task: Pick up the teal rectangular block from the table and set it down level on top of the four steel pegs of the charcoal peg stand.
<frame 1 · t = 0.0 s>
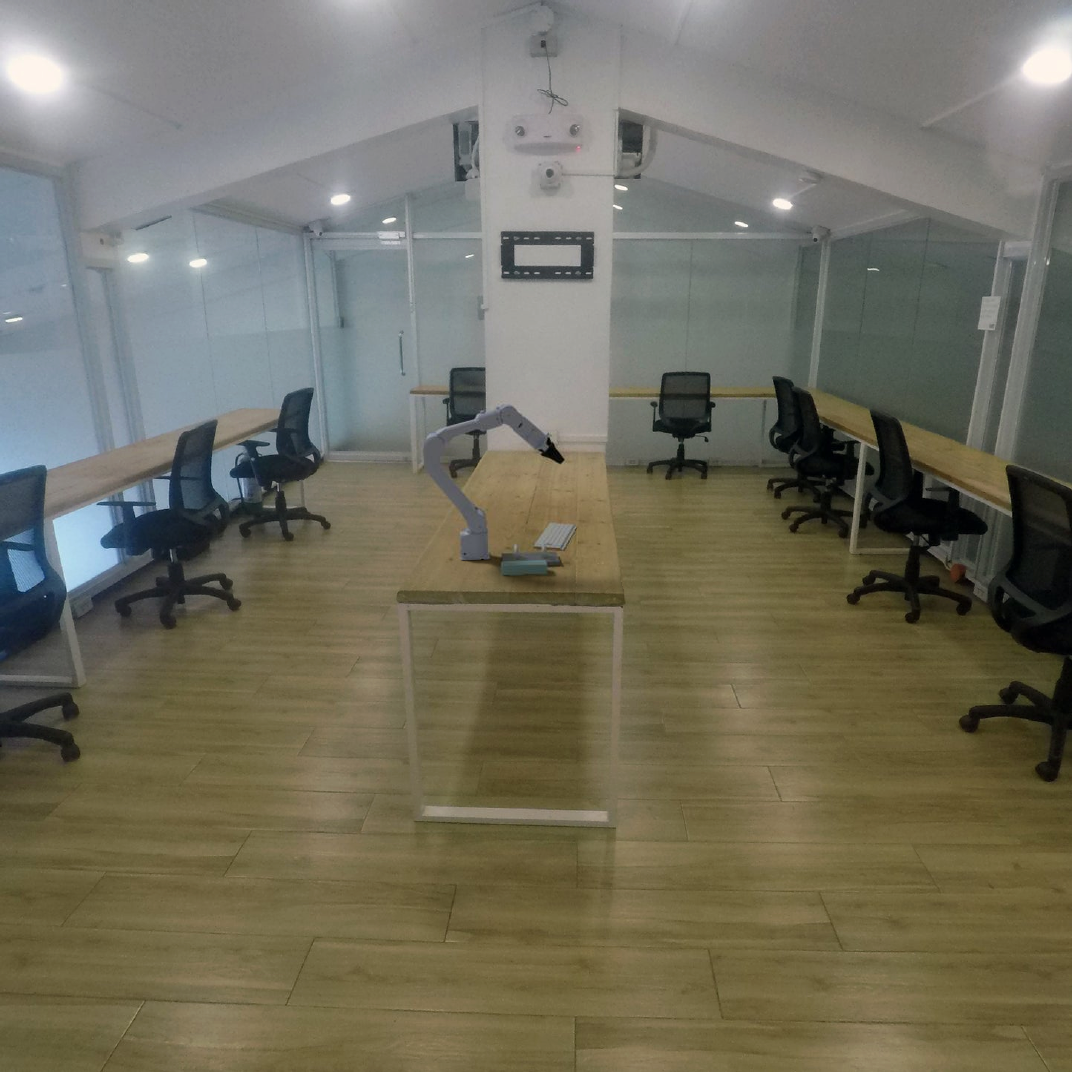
hand: (561, 459, 244), 32 cm above the table, tool tilted 50°, fingers open, 7 cm apart
peg stand: (530, 561, 246), on the table
white ridged flat slab: (558, 539, 273), on the table
teal rectangular block: (524, 573, 235), on the table
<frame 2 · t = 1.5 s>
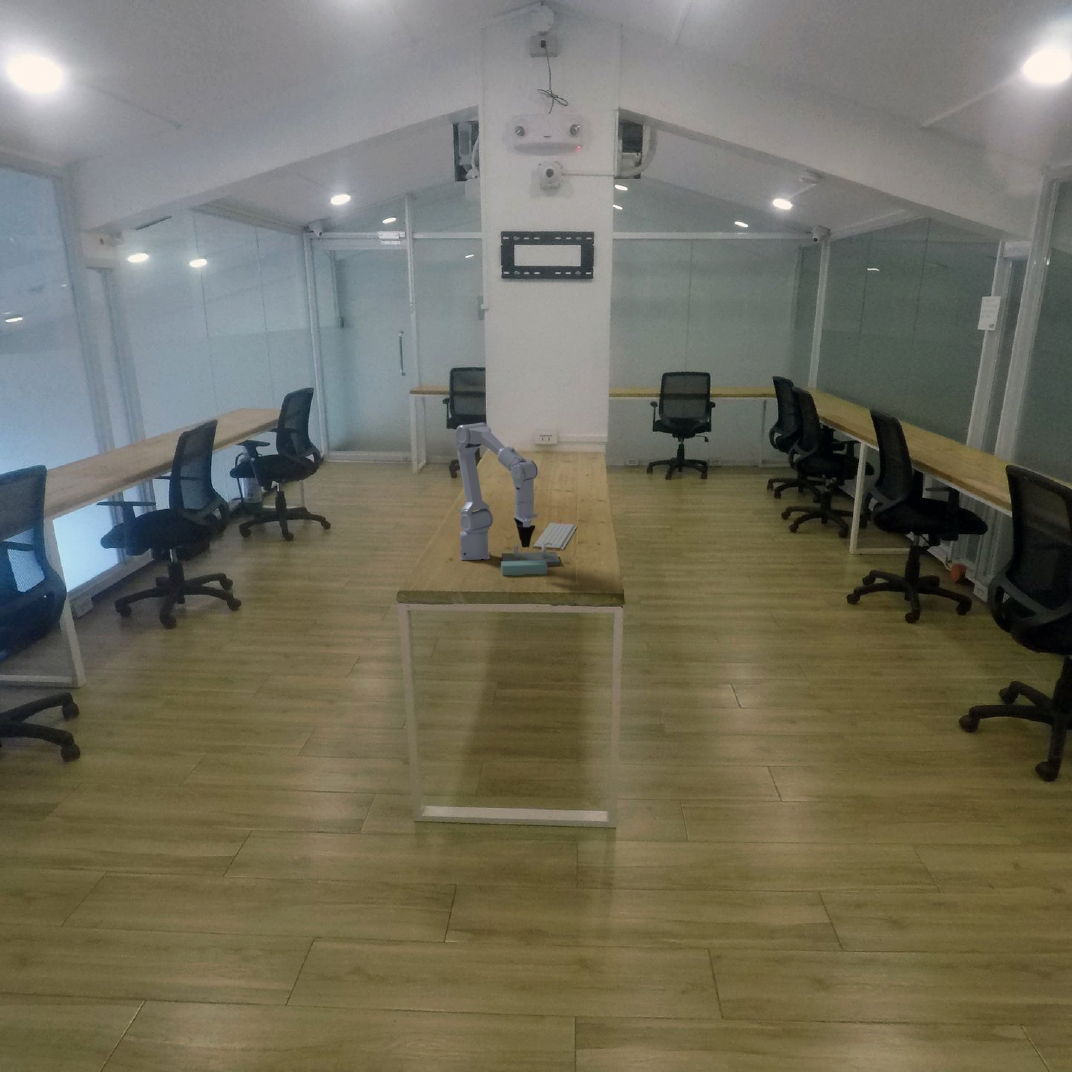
hand: (524, 543, 233), 9 cm above the table, tool pointing down, fingers open, 7 cm apart
nothing on the table moved.
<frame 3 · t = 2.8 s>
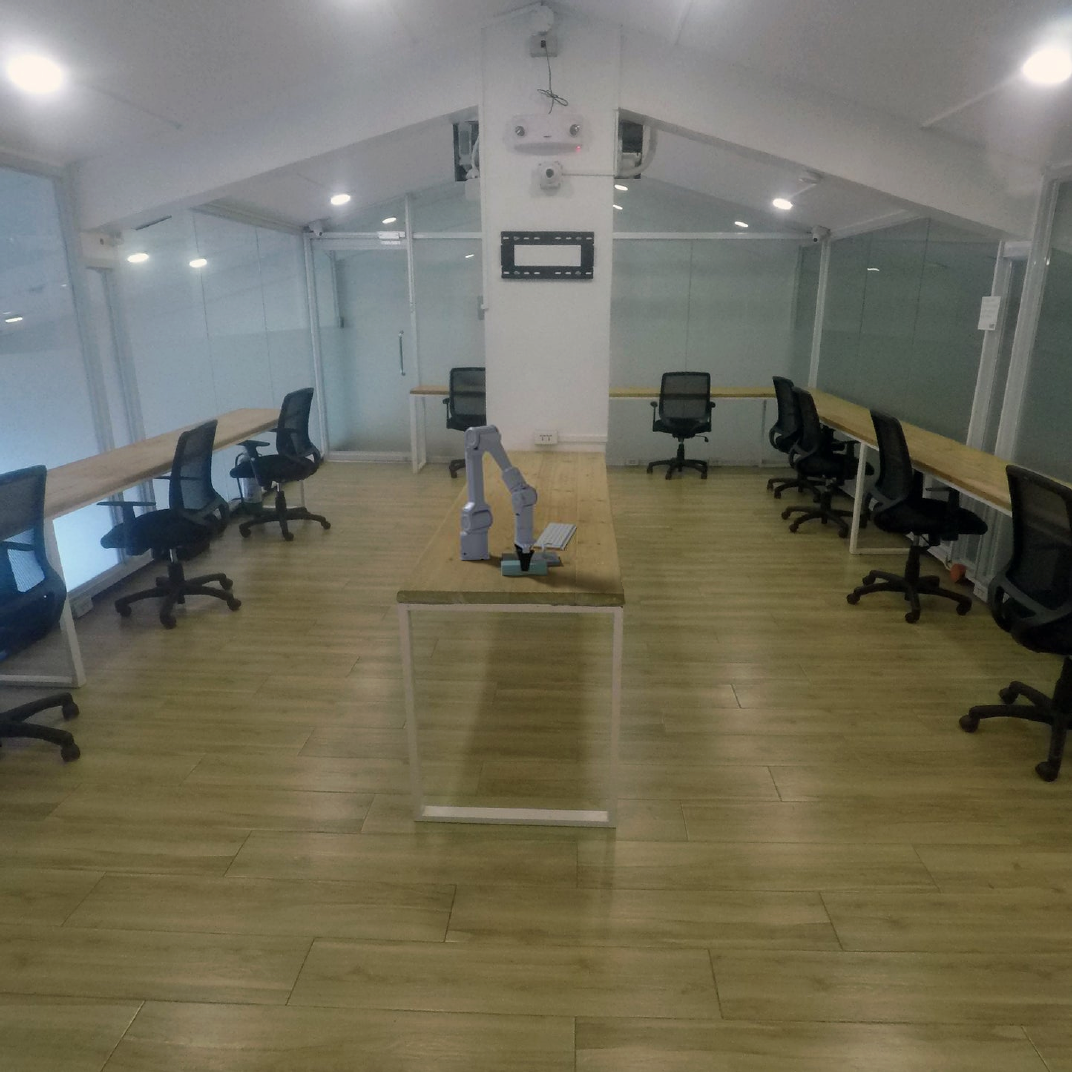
hand: (524, 568, 235), 1 cm above the table, tool pointing down, fingers closed on teal rectangular block, 4 cm apart
teal rectangular block: (523, 573, 235), on the table, touching gripper
everything else where it was.
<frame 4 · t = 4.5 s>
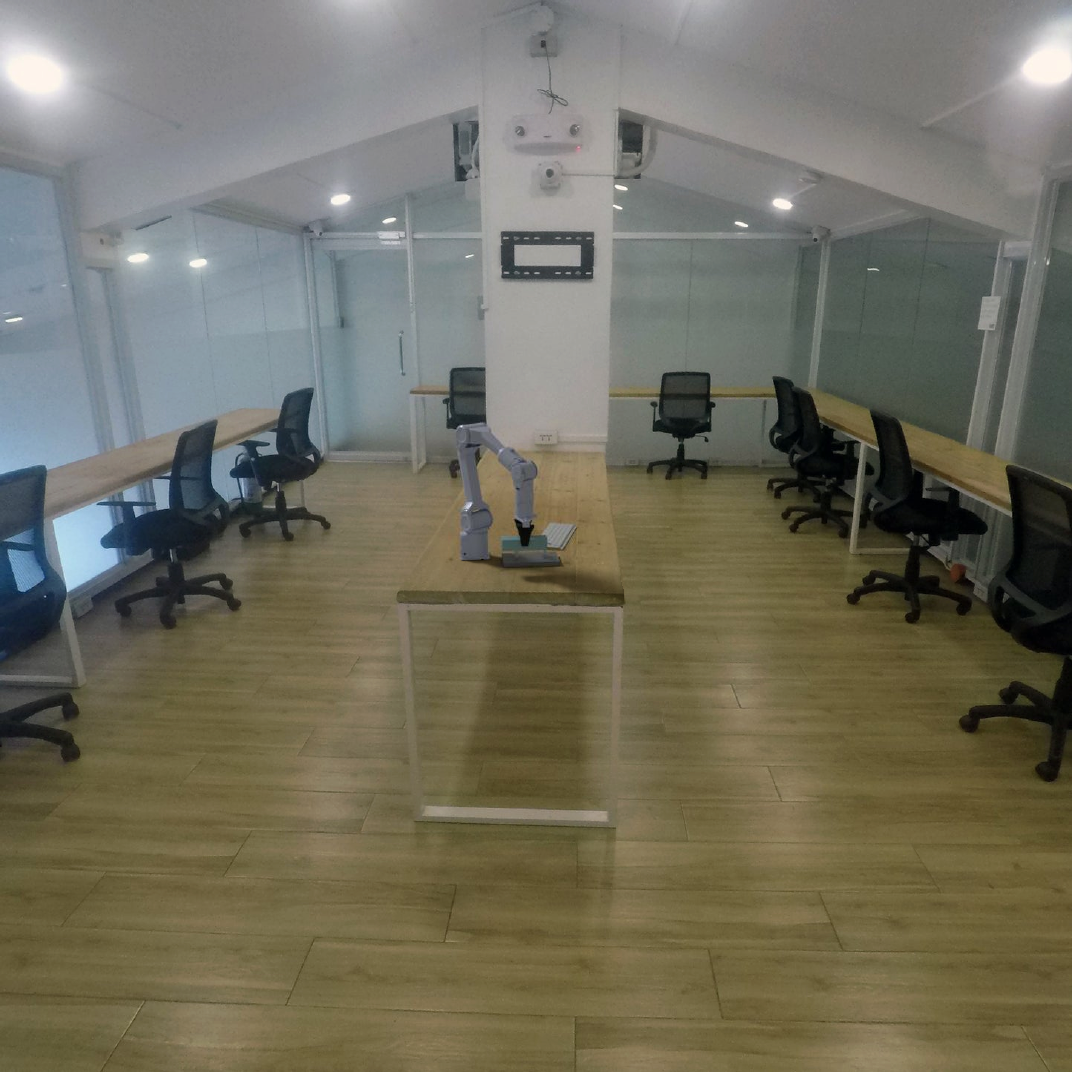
hand: (524, 543, 233), 9 cm above the table, tool pointing down, fingers closed on teal rectangular block, 4 cm apart
teal rectangular block: (524, 548, 233), point 8 cm above the table, touching gripper
everything else where it was.
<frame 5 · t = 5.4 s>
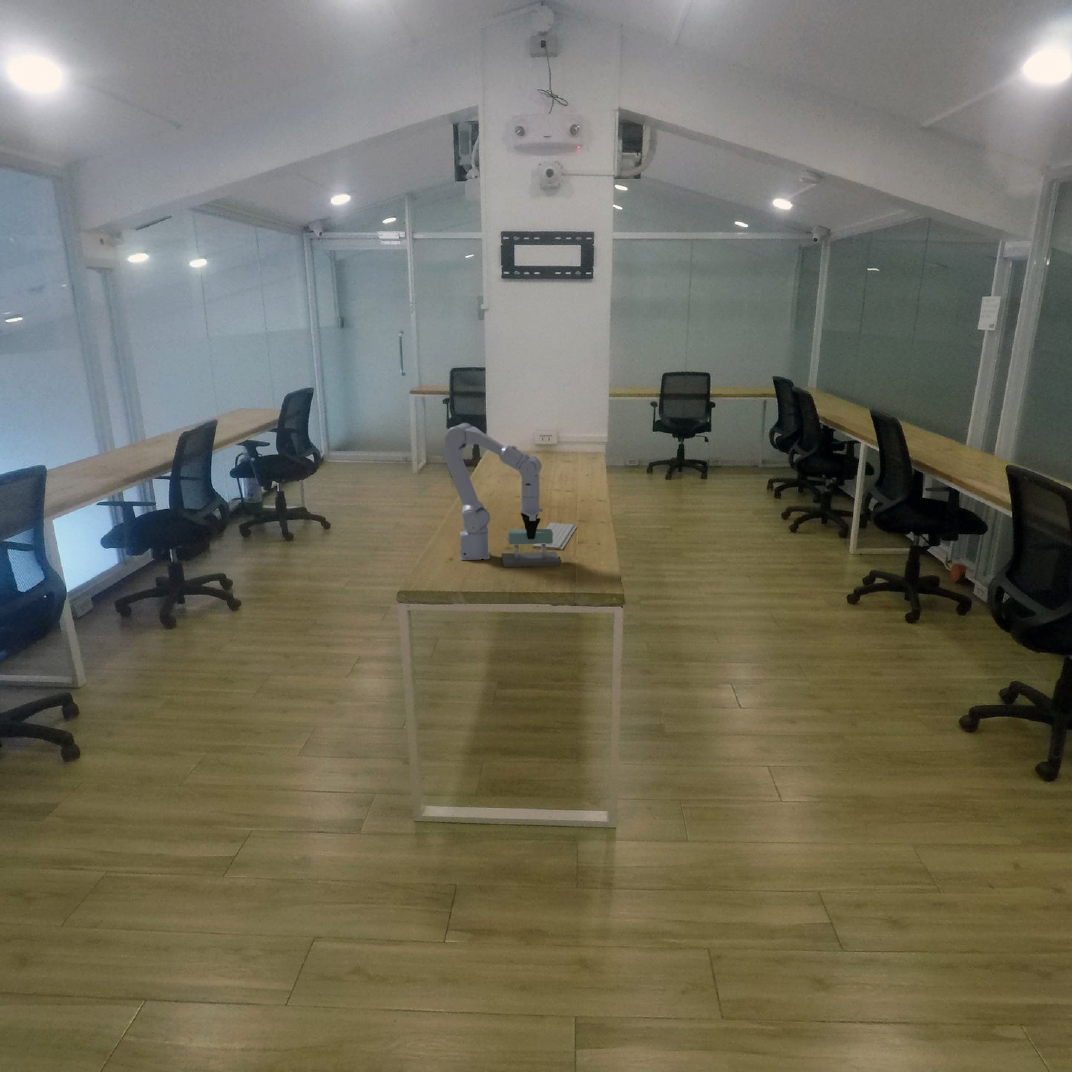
hand: (530, 536, 243), 9 cm above the table, tool pointing down, fingers closed on teal rectangular block, 4 cm apart
teal rectangular block: (530, 541, 244), point 7 cm above the table, touching gripper
everything else where it was.
when the fingers open (8 cm above the table, at t = 6.0 s): teal rectangular block stays where it is, resting on peg stand.
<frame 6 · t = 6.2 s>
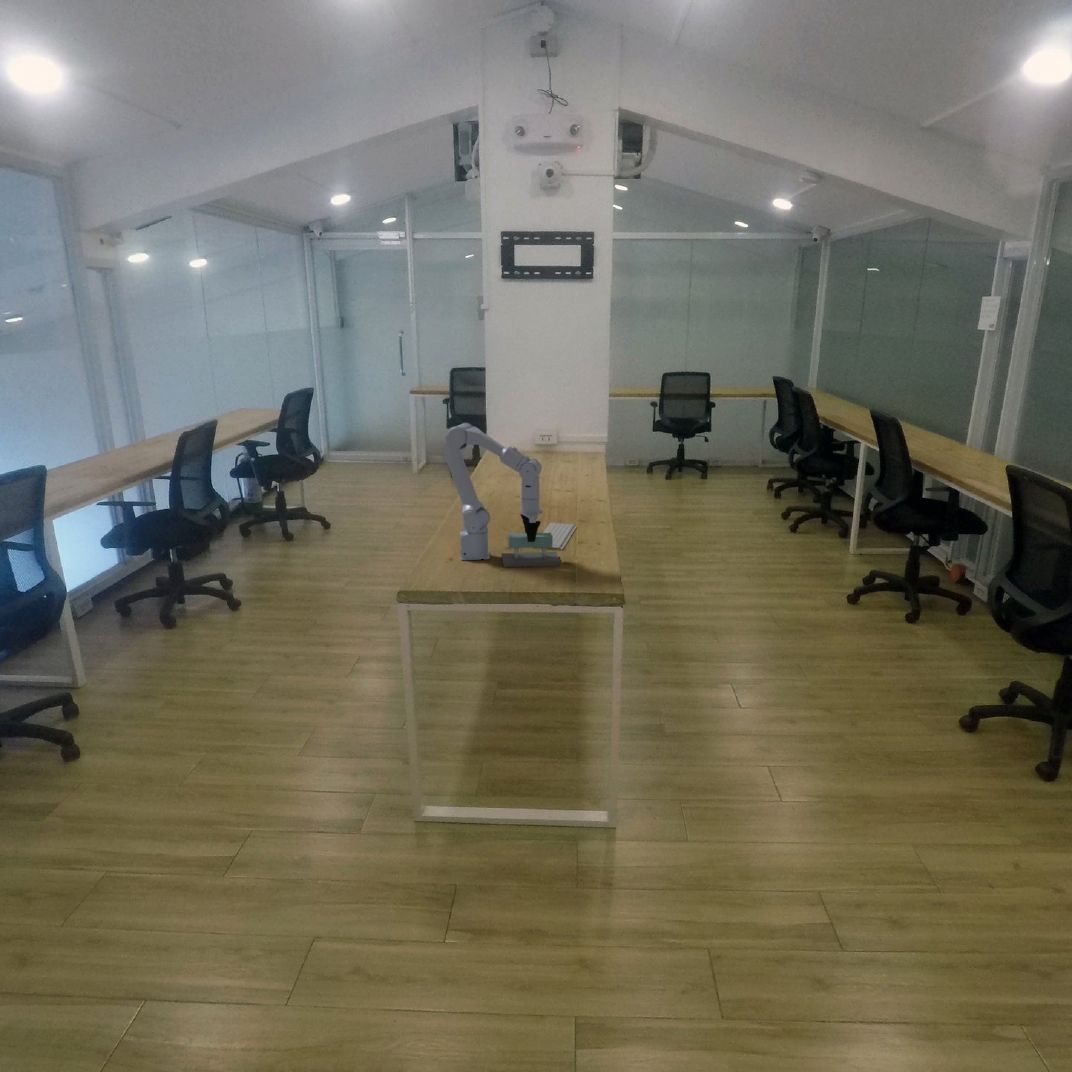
hand: (530, 538, 243), 8 cm above the table, tool pointing down, fingers open, 6 cm apart
teal rectangular block: (530, 545, 244), point 5 cm above the table, touching peg stand
everything else where it was.
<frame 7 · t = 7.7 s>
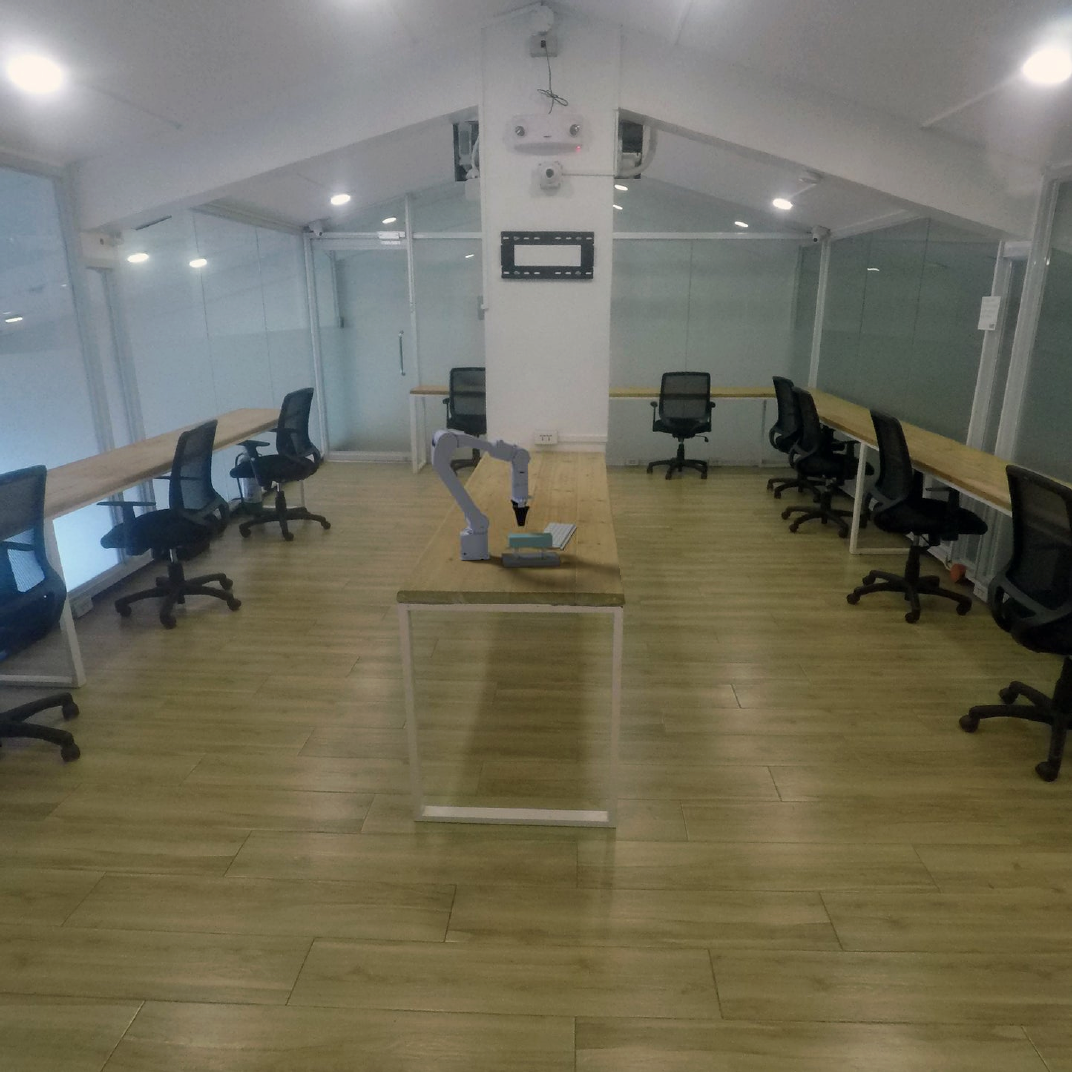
hand: (520, 523, 252), 10 cm above the table, tool pointing down, fingers open, 7 cm apart
nothing on the table moved.
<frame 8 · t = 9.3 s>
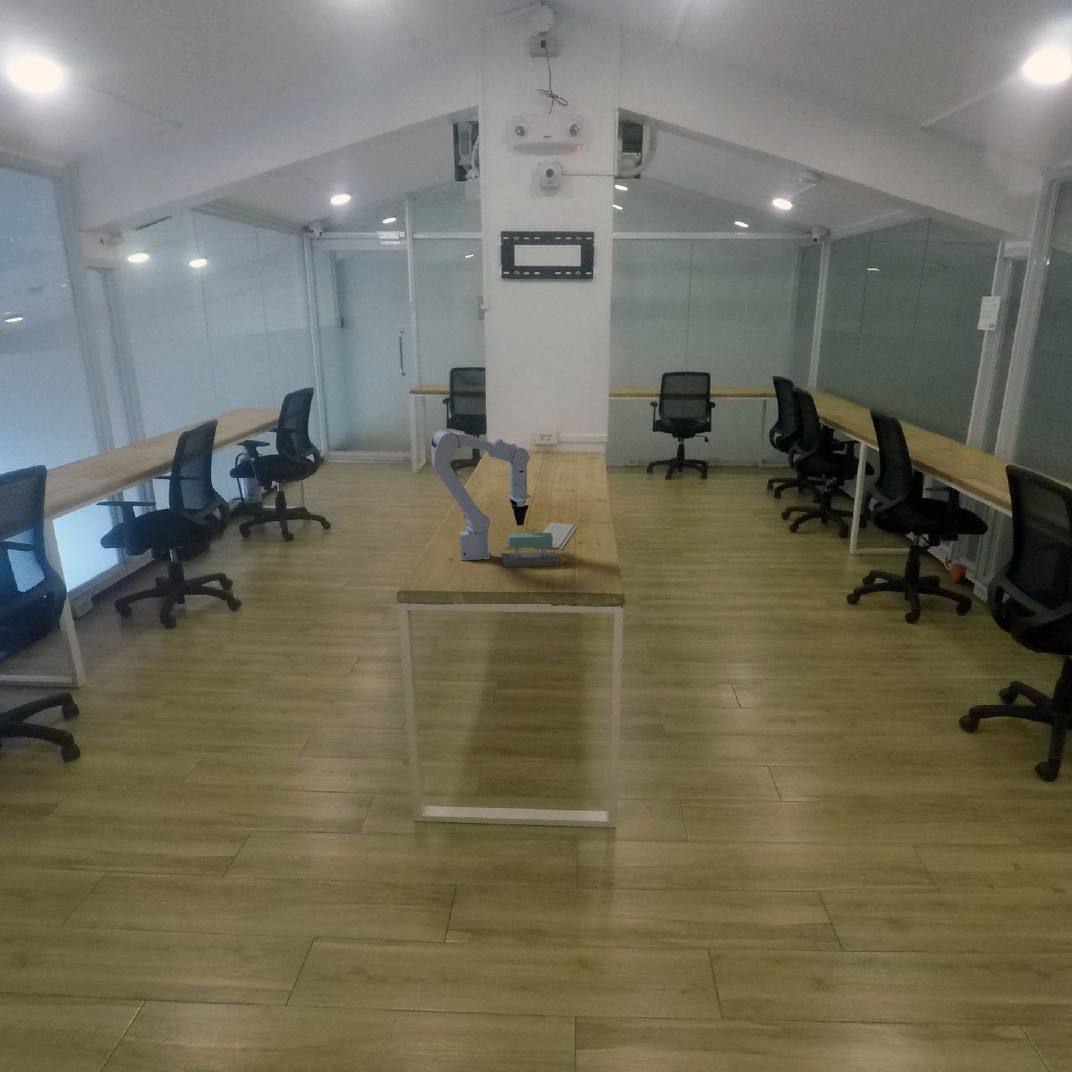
hand: (519, 522, 253), 10 cm above the table, tool pointing down, fingers open, 7 cm apart
nothing on the table moved.
at the end: teal rectangular block 0.0 cm off-centre on the peg stand, point 5.5 cm above the peg stand's base; teal rectangular block tilted 0°; the gripper is holding nothing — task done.
